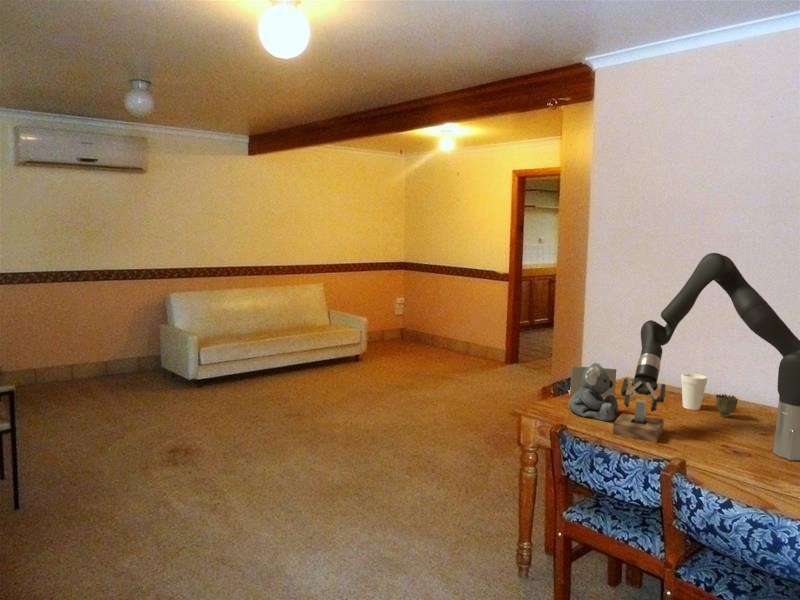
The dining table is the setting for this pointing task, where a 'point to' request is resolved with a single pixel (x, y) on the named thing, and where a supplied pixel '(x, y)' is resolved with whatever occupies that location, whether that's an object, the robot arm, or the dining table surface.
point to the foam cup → (693, 390)
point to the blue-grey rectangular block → (640, 410)
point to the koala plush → (594, 395)
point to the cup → (726, 404)
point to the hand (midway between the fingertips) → (639, 408)
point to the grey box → (577, 378)
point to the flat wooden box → (638, 428)
